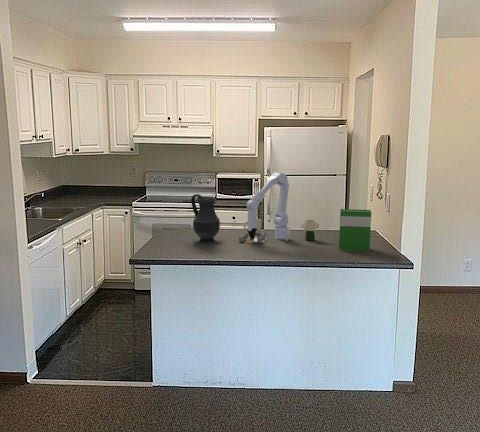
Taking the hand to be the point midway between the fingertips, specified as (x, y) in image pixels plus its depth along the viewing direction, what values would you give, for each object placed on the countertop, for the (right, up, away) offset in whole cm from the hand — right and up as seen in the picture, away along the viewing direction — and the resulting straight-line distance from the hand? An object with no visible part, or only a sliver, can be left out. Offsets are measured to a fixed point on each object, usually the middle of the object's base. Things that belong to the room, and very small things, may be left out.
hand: (252, 239), depth 320 cm
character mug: (+38, -1, +7) cm, 39 cm away
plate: (0, -1, +2) cm, 2 cm away
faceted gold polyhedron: (-2, -2, -4) cm, 5 cm away
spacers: (0, -1, +2) cm, 2 cm away
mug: (+1, +3, +26) cm, 26 cm away
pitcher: (-31, -1, +5) cm, 31 cm away
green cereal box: (+61, -5, -17) cm, 64 cm away
